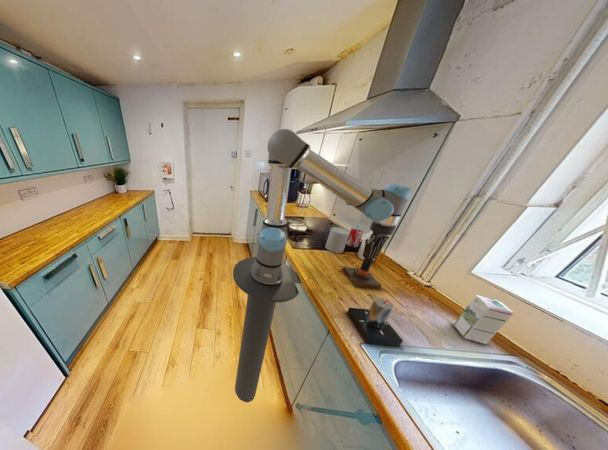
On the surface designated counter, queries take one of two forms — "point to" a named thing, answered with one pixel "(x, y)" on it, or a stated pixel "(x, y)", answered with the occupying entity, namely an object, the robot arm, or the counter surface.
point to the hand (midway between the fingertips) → (364, 269)
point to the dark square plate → (361, 278)
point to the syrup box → (482, 319)
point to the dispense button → (362, 272)
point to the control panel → (373, 329)
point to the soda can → (354, 236)
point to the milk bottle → (361, 250)
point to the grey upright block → (379, 313)
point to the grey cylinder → (337, 239)
